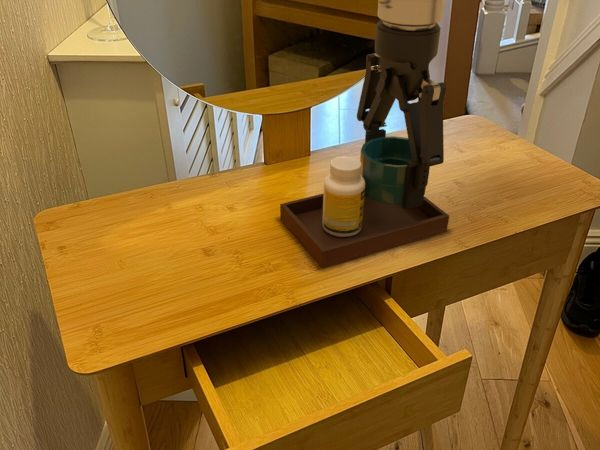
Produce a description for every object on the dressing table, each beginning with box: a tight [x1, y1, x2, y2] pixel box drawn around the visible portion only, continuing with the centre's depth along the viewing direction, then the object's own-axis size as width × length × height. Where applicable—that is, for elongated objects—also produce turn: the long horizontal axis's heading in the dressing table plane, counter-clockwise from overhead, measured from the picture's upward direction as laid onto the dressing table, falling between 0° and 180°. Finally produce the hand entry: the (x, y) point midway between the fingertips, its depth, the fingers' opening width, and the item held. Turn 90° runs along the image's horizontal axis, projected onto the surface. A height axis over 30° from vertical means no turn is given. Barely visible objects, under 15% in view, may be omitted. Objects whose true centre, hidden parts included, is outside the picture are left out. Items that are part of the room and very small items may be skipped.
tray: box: [279, 192, 450, 269], centre depth 85 cm, size 19×13×3 cm, turn 116°
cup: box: [359, 135, 427, 204], centre depth 84 cm, size 9×9×6 cm
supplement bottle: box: [322, 155, 365, 237], centre depth 82 cm, size 5×5×10 cm
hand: (391, 189), depth 85 cm, fingers closed on cup, 9 cm apart
